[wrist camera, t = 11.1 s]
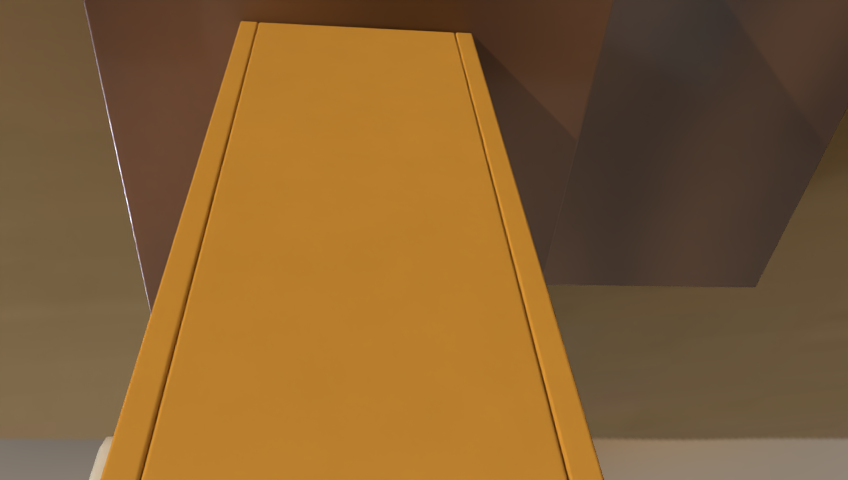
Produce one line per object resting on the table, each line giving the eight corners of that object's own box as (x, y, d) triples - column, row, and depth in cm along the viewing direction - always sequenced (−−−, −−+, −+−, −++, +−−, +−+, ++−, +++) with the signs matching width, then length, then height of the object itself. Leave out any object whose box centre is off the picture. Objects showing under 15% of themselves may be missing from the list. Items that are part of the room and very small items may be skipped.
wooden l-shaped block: (906, -220, 20) (1293, -126, 12) (715, 223, 31) (853, 445, 22) (181, -291, 18) (29, -237, 10) (232, 211, 28) (180, 452, 20)
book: (471, 32, 13) (701, 801, 4) (427, 369, 18) (487, 986, 10) (240, 19, 12) (-16, 851, 4) (267, 369, 18) (188, 1014, 9)
